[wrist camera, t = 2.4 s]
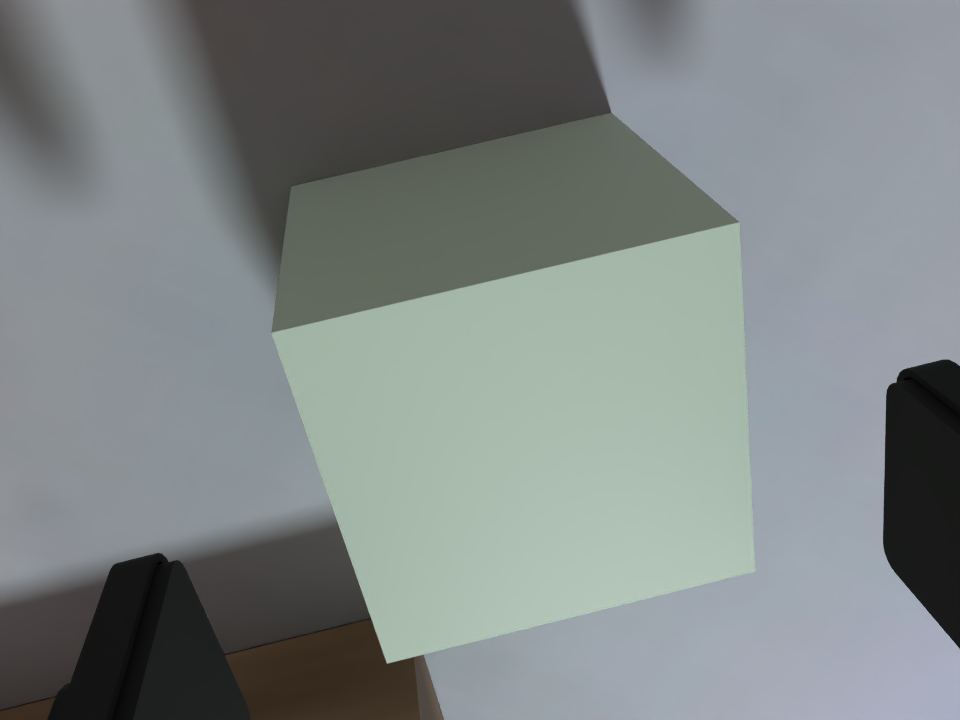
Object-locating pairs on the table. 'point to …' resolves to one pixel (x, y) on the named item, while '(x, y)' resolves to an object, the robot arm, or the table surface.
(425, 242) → the sage cube
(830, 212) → the table surface
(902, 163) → the table surface
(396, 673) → the walnut base
